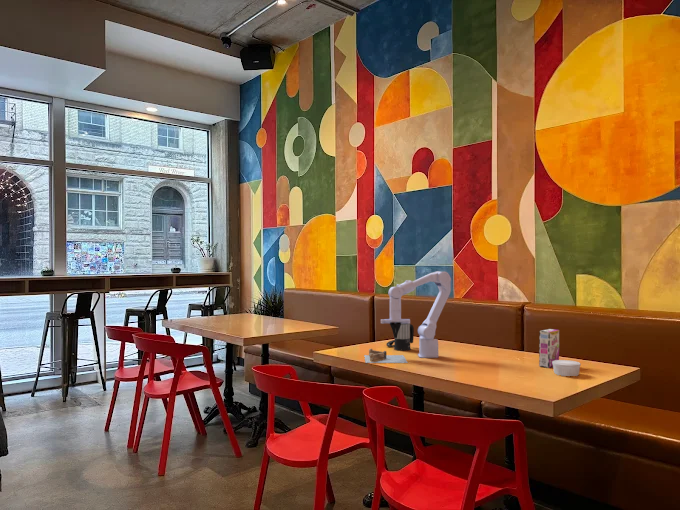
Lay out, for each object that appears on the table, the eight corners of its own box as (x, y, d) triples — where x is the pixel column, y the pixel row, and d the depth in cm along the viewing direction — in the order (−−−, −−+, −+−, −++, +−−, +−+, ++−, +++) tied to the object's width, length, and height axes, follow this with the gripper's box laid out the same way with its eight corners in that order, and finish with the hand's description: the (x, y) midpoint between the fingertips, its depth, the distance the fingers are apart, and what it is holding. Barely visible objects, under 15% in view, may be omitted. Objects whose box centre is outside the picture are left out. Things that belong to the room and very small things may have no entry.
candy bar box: (549, 368, 233) (549, 331, 233) (538, 366, 236) (538, 330, 236) (560, 364, 240) (559, 329, 241) (549, 363, 244) (549, 328, 244)
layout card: (403, 355, 264) (403, 355, 264) (407, 363, 245) (407, 362, 245) (364, 355, 264) (364, 355, 264) (365, 363, 245) (365, 362, 245)
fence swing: (382, 358, 255) (382, 351, 255) (384, 358, 254) (384, 351, 254) (369, 360, 249) (369, 353, 249) (371, 361, 248) (371, 354, 248)
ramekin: (564, 378, 213) (564, 365, 213) (546, 372, 224) (546, 360, 224) (586, 376, 216) (586, 364, 217) (568, 371, 227) (567, 359, 227)
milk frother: (407, 351, 276) (407, 323, 277) (379, 349, 283) (379, 322, 284) (415, 347, 289) (415, 320, 289) (389, 345, 296) (389, 319, 296)
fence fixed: (370, 355, 263) (370, 348, 263) (387, 358, 256) (387, 351, 256) (368, 356, 262) (368, 348, 262) (384, 359, 254) (384, 351, 254)
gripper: (408, 309, 263) (408, 336, 263) (380, 309, 263) (380, 336, 263) (410, 311, 256) (410, 338, 256) (381, 311, 256) (381, 338, 256)
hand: (395, 337), depth 259 cm, fingers closed
